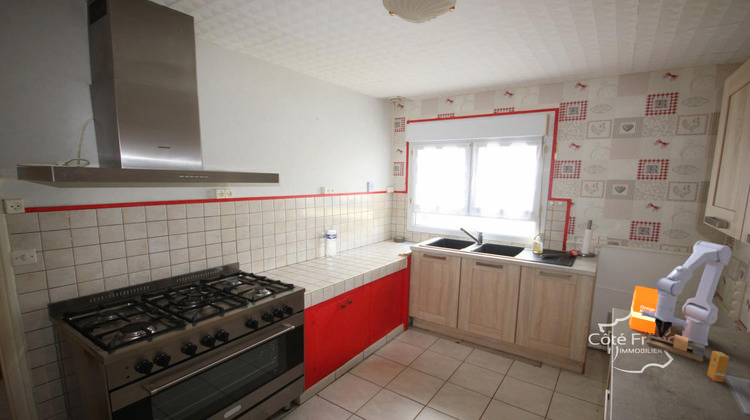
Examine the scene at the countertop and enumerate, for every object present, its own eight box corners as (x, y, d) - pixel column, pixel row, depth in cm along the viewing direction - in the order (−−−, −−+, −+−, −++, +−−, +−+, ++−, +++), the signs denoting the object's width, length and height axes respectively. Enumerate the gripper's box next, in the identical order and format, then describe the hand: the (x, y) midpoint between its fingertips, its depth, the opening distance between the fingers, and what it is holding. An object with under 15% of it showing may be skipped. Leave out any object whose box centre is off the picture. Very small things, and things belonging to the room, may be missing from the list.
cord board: (648, 337, 144) (649, 326, 143) (701, 353, 132) (704, 341, 131) (646, 344, 138) (648, 333, 137) (702, 362, 126) (704, 350, 125)
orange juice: (629, 321, 157) (635, 283, 154) (652, 327, 152) (659, 287, 149) (630, 328, 151) (636, 288, 148) (654, 334, 146) (661, 293, 143)
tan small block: (673, 343, 137) (675, 334, 136) (686, 346, 134) (688, 337, 133) (673, 347, 133) (674, 338, 133) (686, 351, 131) (688, 342, 130)
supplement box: (724, 382, 114) (730, 357, 113) (713, 381, 115) (718, 355, 114) (717, 376, 118) (722, 351, 116) (706, 375, 118) (711, 350, 117)
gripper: (642, 304, 137) (638, 333, 140) (689, 315, 127) (684, 347, 130) (644, 299, 142) (639, 327, 145) (689, 310, 133) (684, 340, 135)
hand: (660, 336), depth 137 cm, fingers closed
